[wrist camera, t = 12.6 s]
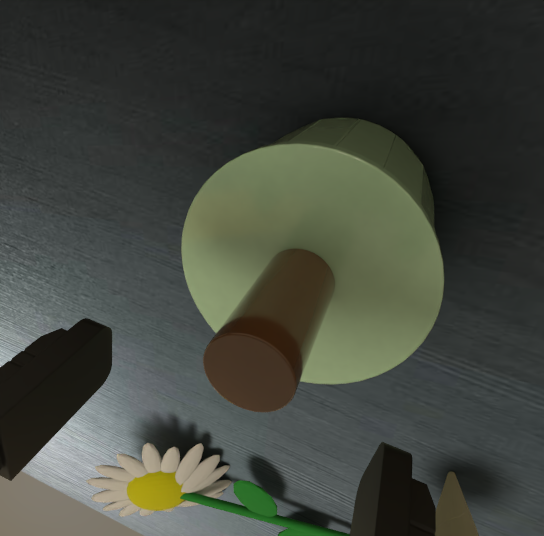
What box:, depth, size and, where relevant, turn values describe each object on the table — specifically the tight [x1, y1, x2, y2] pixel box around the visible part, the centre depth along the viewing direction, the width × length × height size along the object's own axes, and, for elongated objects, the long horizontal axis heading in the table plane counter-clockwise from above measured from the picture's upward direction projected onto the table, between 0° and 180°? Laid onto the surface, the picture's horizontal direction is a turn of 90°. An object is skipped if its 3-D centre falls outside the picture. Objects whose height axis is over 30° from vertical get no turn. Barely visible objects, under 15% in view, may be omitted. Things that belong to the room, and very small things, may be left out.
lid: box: [181, 141, 444, 412], centre depth 15 cm, size 11×11×7 cm
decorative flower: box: [86, 443, 350, 536], centre depth 39 cm, size 13×5×30 cm
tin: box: [273, 118, 434, 227], centre depth 22 cm, size 10×10×8 cm
